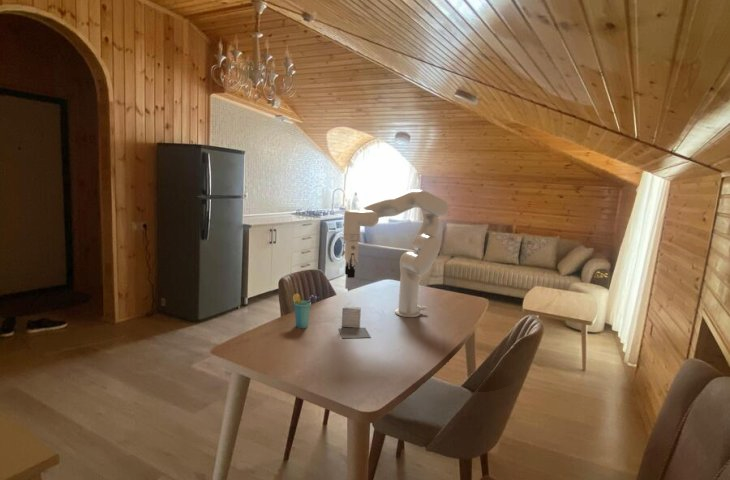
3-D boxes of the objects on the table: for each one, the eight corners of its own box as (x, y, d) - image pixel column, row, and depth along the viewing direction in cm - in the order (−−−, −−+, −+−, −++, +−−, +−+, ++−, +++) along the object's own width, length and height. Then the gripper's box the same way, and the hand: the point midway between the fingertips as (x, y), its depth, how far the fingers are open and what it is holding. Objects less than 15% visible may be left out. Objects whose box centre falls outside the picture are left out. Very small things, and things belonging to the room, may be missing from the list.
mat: (365, 328, 176) (365, 327, 176) (370, 337, 165) (370, 337, 165) (338, 329, 173) (338, 328, 173) (342, 338, 162) (342, 338, 162)
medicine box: (360, 325, 179) (361, 306, 178) (359, 328, 174) (360, 309, 173) (343, 324, 179) (343, 305, 179) (341, 327, 175) (342, 308, 174)
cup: (321, 326, 175) (323, 294, 173) (312, 332, 168) (313, 298, 166) (295, 320, 180) (296, 289, 178) (285, 326, 173) (286, 293, 171)
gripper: (363, 240, 173) (361, 280, 175) (356, 234, 189) (354, 271, 192) (346, 239, 171) (344, 280, 173) (340, 234, 188) (339, 271, 190)
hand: (349, 275), depth 183 cm, fingers open, 5 cm apart
